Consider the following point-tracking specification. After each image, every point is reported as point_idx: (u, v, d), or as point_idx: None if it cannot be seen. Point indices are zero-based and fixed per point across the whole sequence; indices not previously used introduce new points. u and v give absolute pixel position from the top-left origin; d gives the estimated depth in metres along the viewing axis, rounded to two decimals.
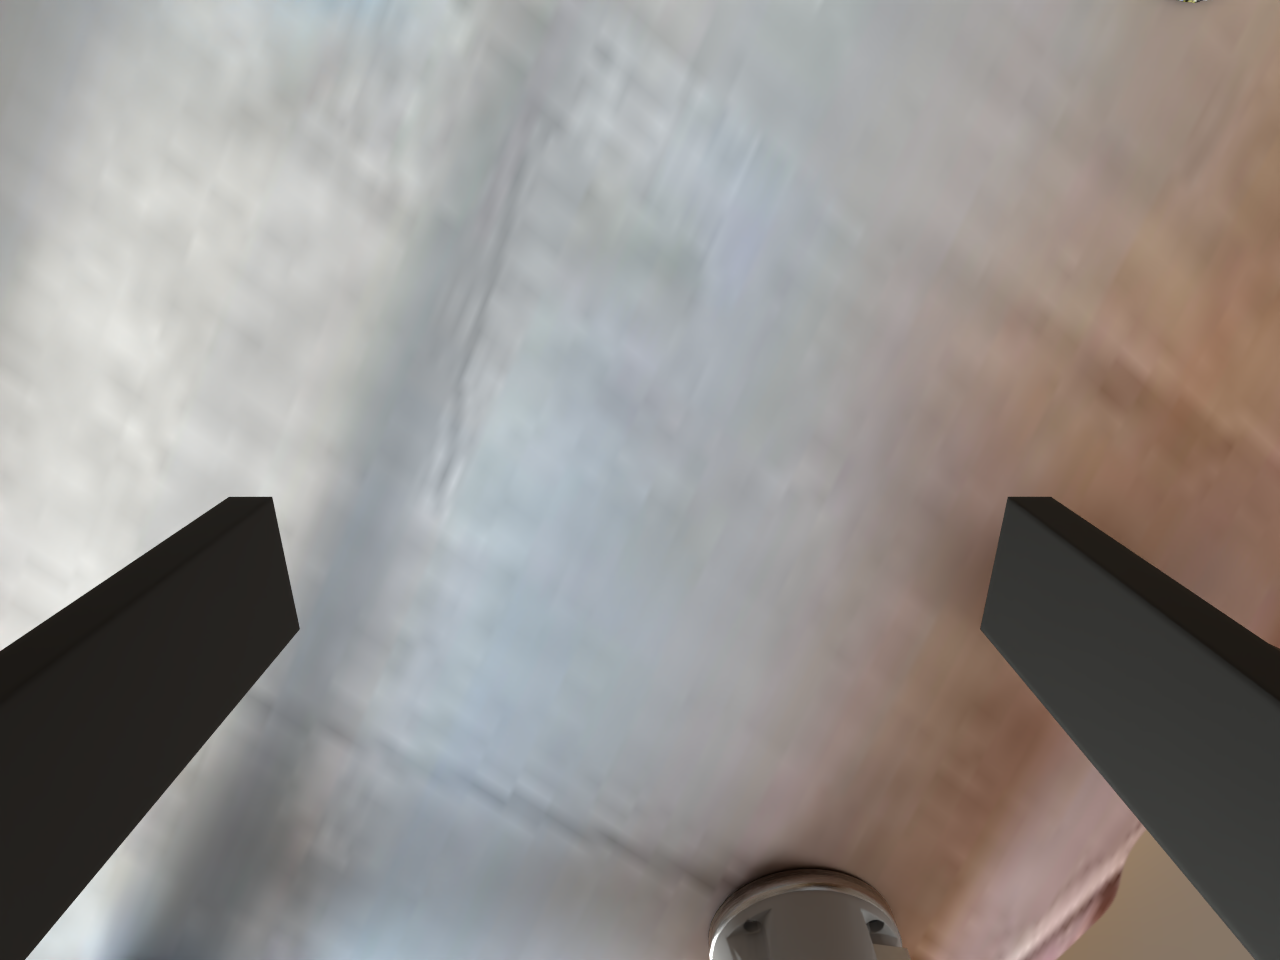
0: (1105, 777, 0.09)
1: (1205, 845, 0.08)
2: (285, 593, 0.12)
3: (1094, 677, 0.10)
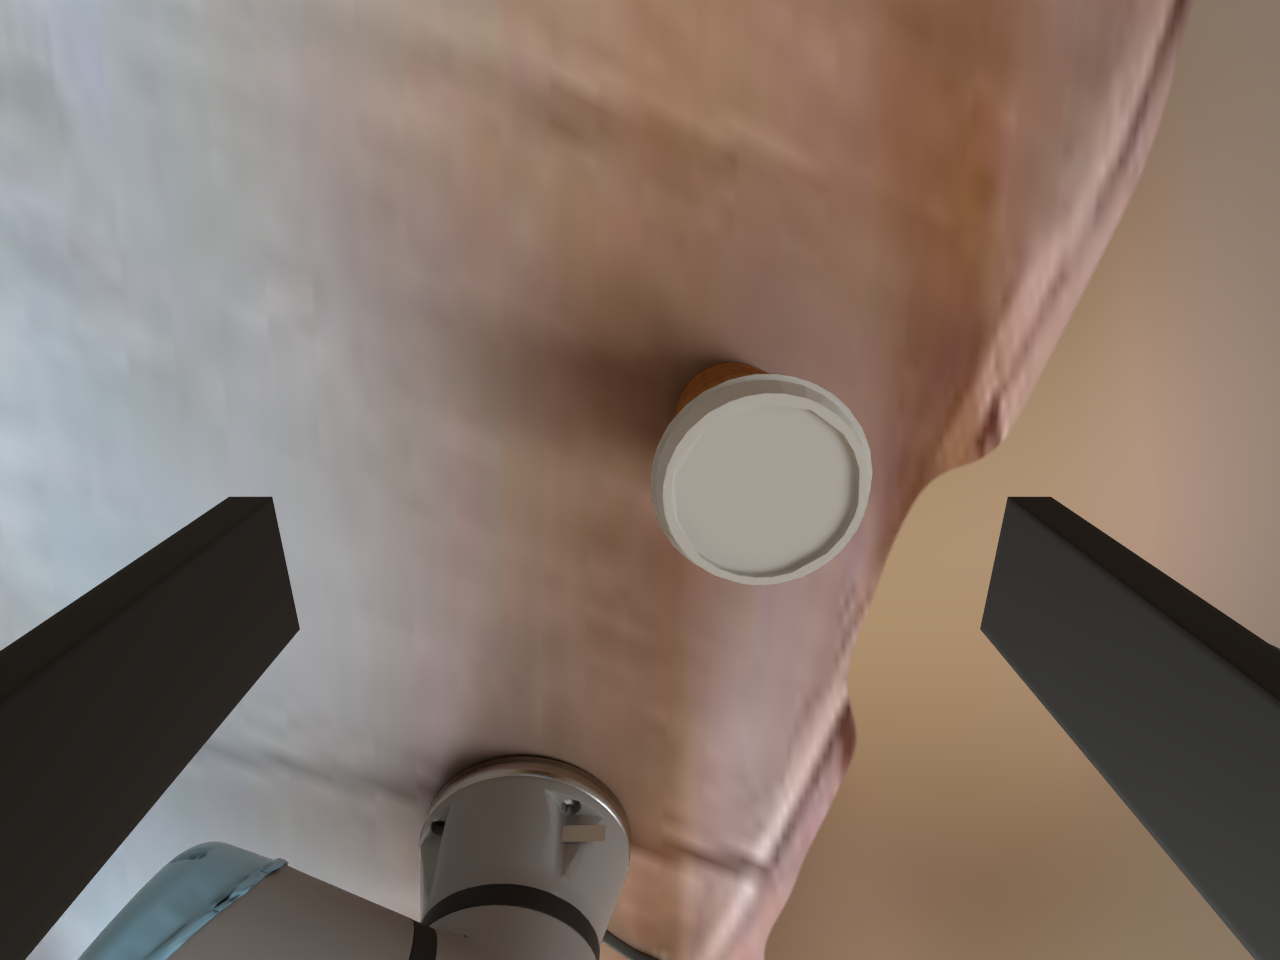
0: (1105, 777, 0.09)
1: (1206, 846, 0.08)
2: (285, 593, 0.12)
3: (1094, 677, 0.10)
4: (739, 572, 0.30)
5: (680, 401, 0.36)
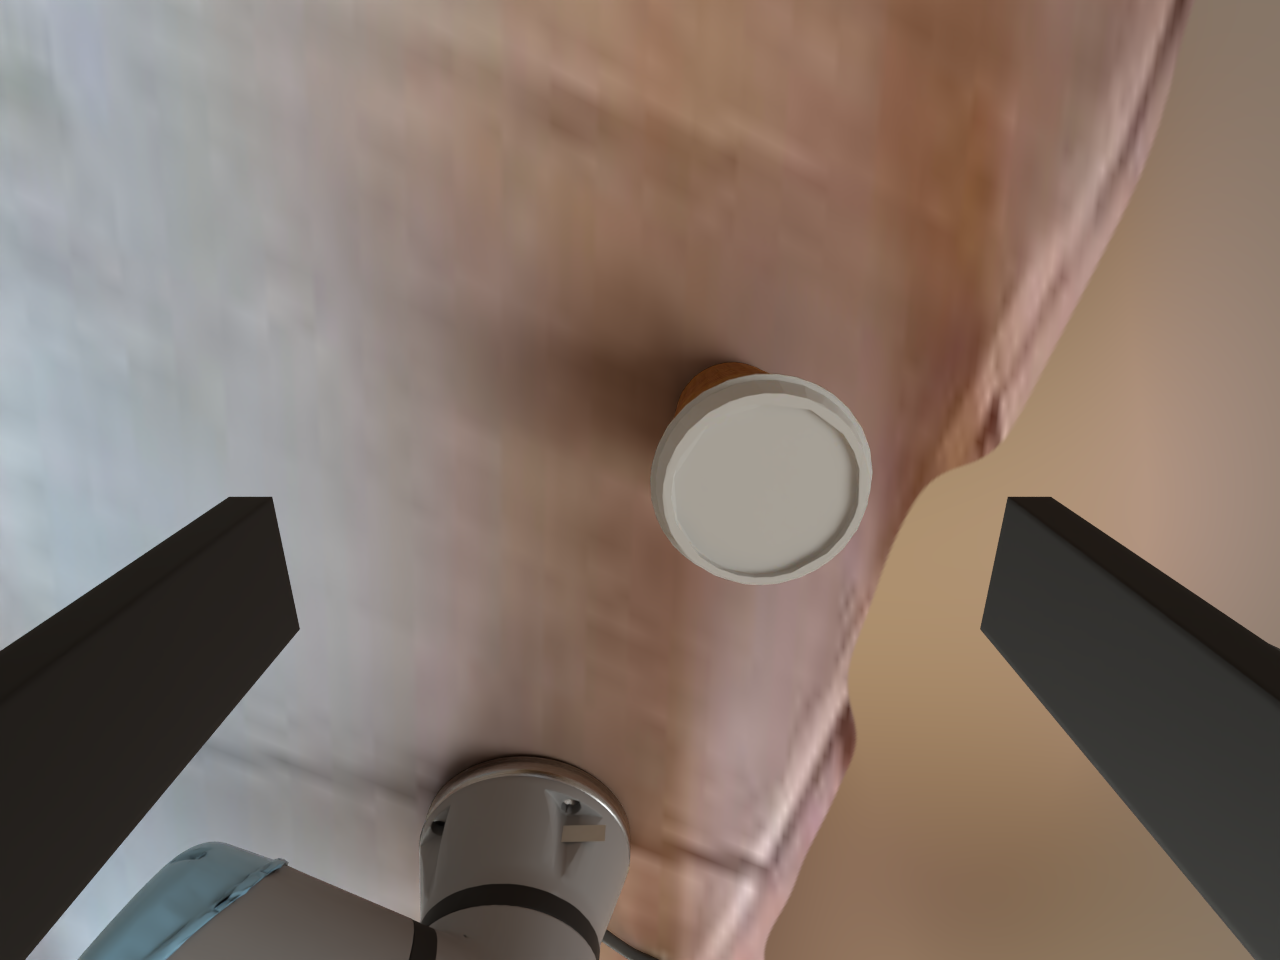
0: (1105, 777, 0.09)
1: (1206, 846, 0.08)
2: (285, 593, 0.12)
3: (1094, 677, 0.10)
4: (739, 572, 0.30)
5: (680, 401, 0.36)
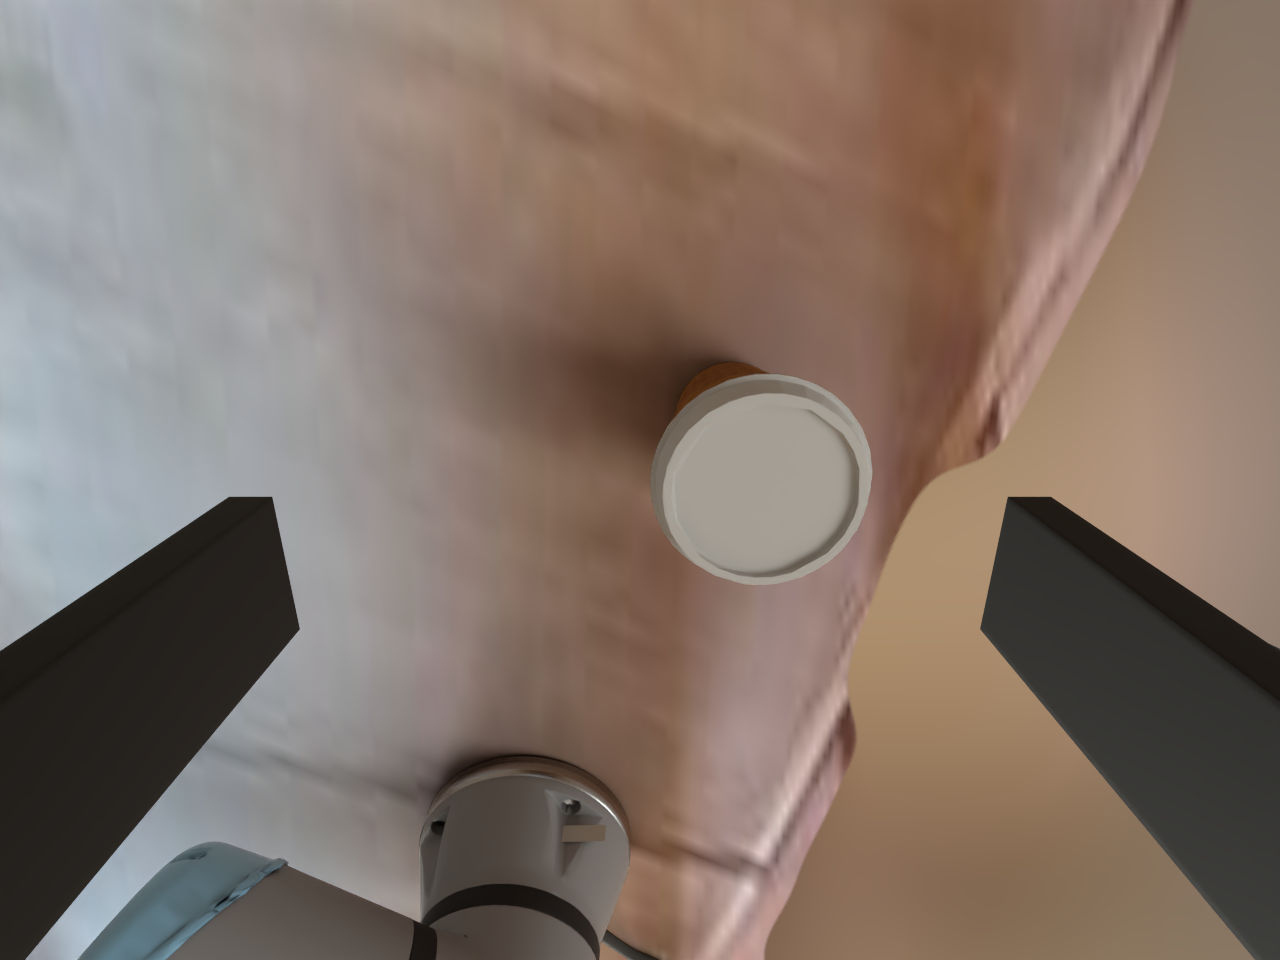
0: (1105, 777, 0.09)
1: (1206, 846, 0.08)
2: (285, 593, 0.12)
3: (1094, 677, 0.10)
4: (739, 572, 0.30)
5: (680, 401, 0.36)
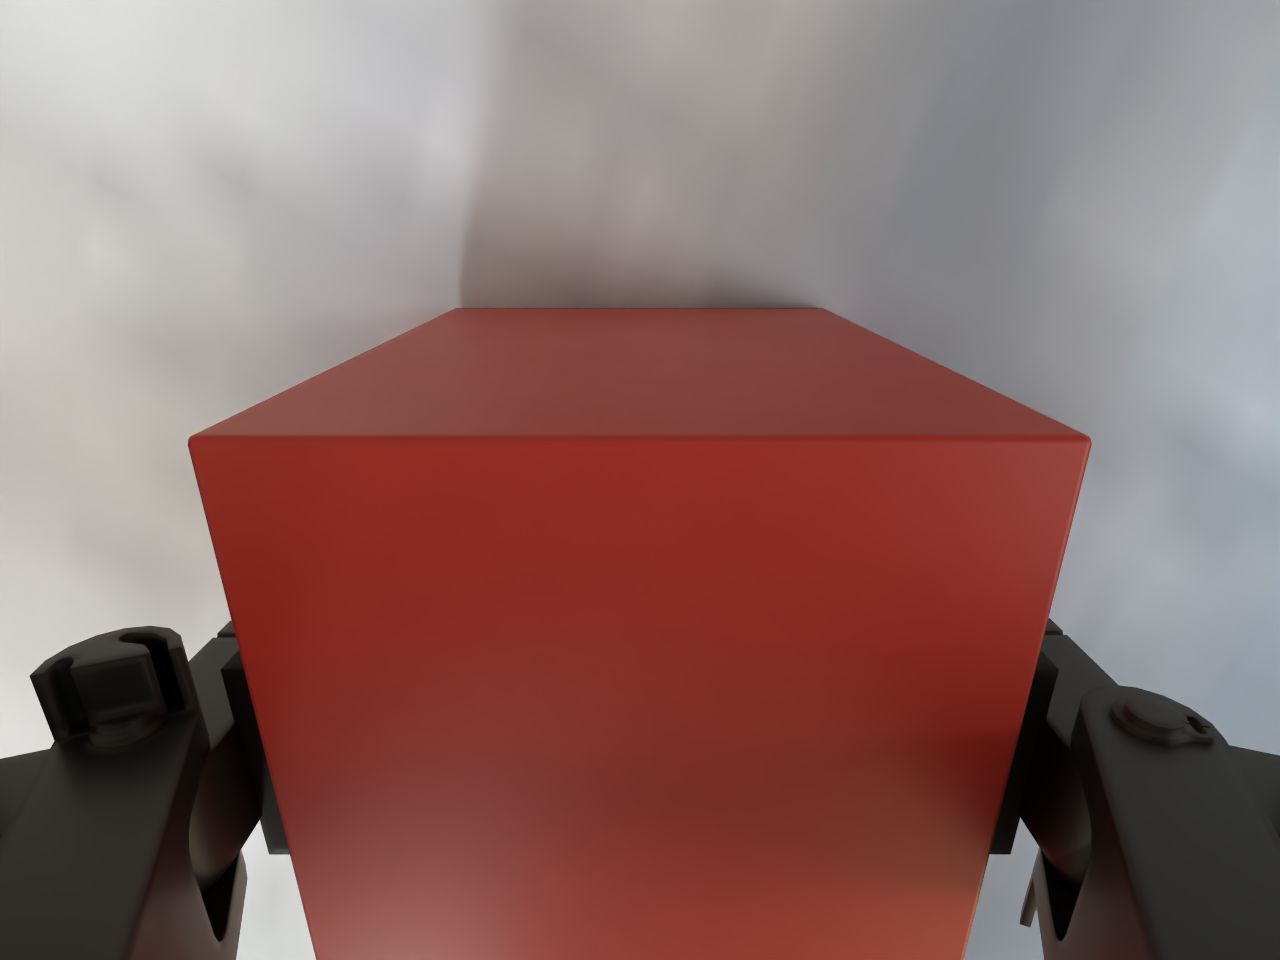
0: None
1: None
2: None
3: None
4: None
5: None
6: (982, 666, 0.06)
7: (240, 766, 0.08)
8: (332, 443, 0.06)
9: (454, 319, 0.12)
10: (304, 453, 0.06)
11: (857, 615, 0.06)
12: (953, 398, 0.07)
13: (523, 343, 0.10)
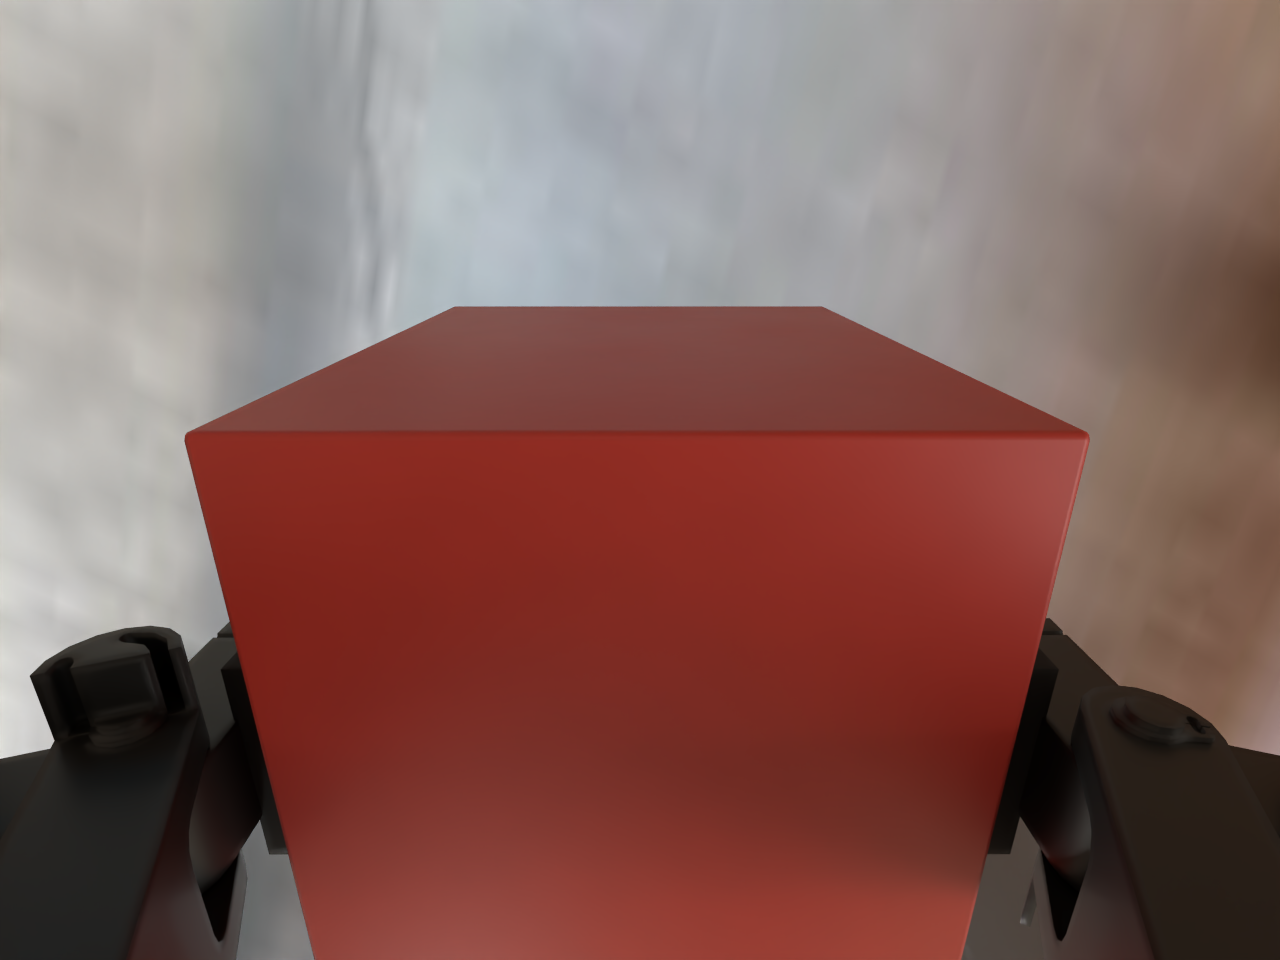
0: None
1: None
2: None
3: None
4: None
5: None
6: (980, 662, 0.06)
7: (240, 766, 0.08)
8: (328, 440, 0.06)
9: (453, 317, 0.12)
10: (301, 449, 0.06)
11: (855, 611, 0.06)
12: (951, 395, 0.07)
13: (521, 341, 0.10)
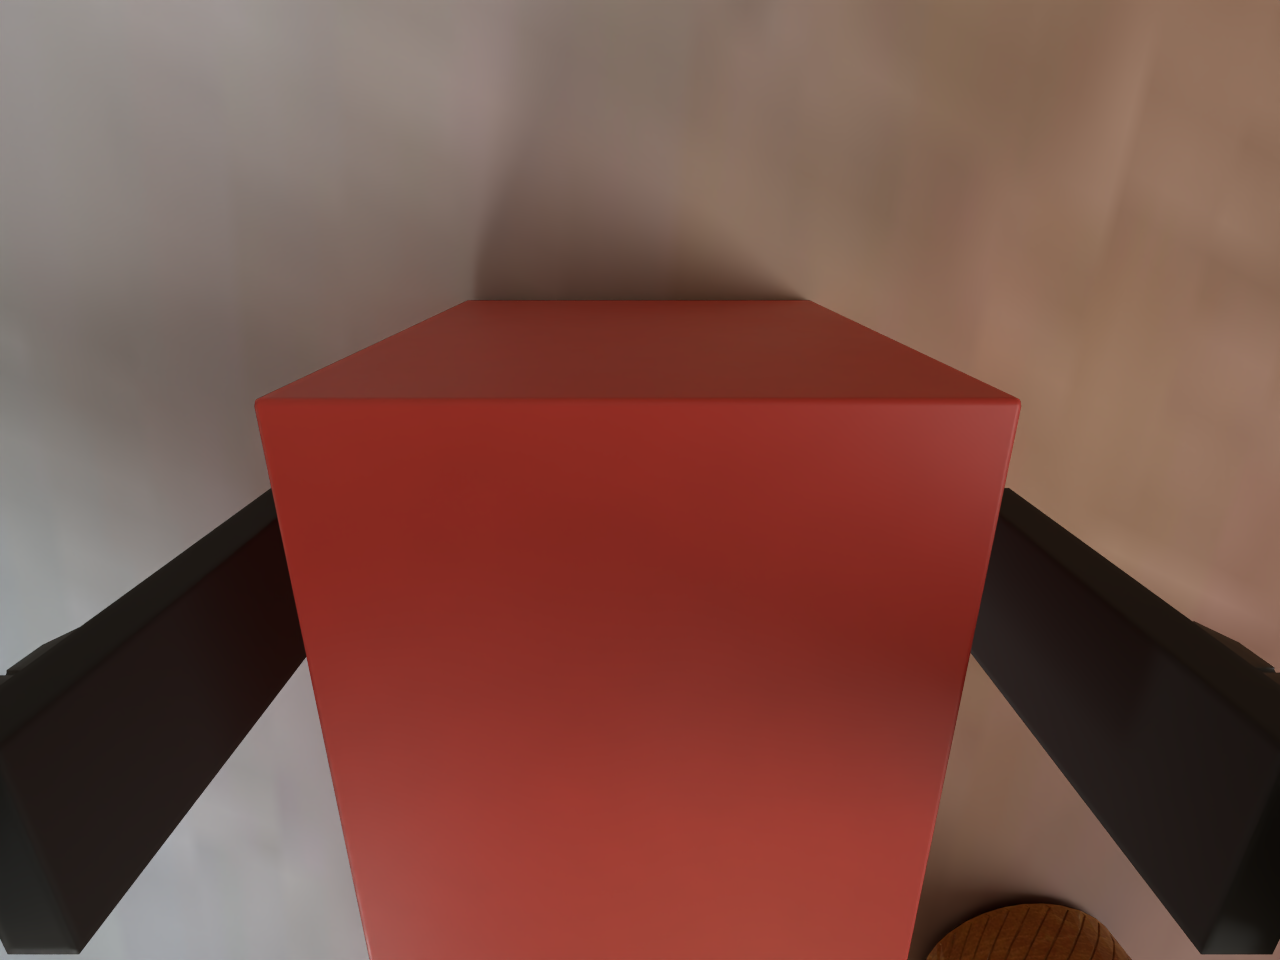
0: (1050, 755, 0.10)
1: (1134, 816, 0.08)
2: None
3: (1041, 659, 0.10)
4: None
5: None
6: (933, 600, 0.07)
7: None
8: (375, 405, 0.07)
9: (467, 309, 0.13)
10: (353, 413, 0.07)
11: (826, 556, 0.07)
12: (911, 371, 0.08)
13: (533, 329, 0.11)
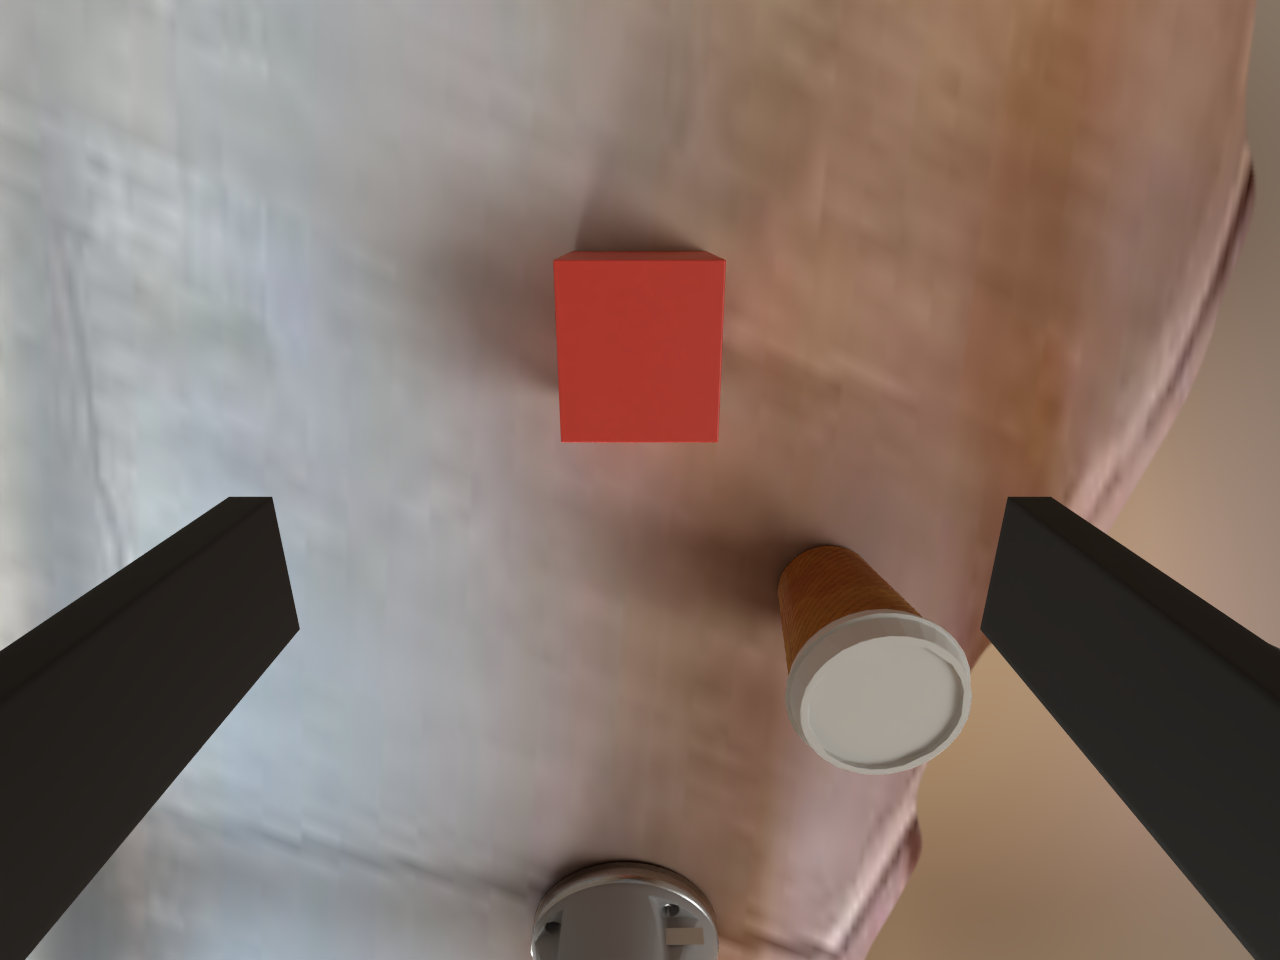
0: (1105, 777, 0.09)
1: (1206, 846, 0.08)
2: (285, 593, 0.12)
3: (1094, 677, 0.10)
4: (858, 764, 0.36)
5: (790, 589, 0.42)
6: (711, 312, 0.30)
7: None
8: (580, 261, 0.30)
9: (577, 252, 0.36)
10: (575, 263, 0.30)
11: (684, 299, 0.30)
12: (708, 258, 0.31)
13: (605, 254, 0.34)
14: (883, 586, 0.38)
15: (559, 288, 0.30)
